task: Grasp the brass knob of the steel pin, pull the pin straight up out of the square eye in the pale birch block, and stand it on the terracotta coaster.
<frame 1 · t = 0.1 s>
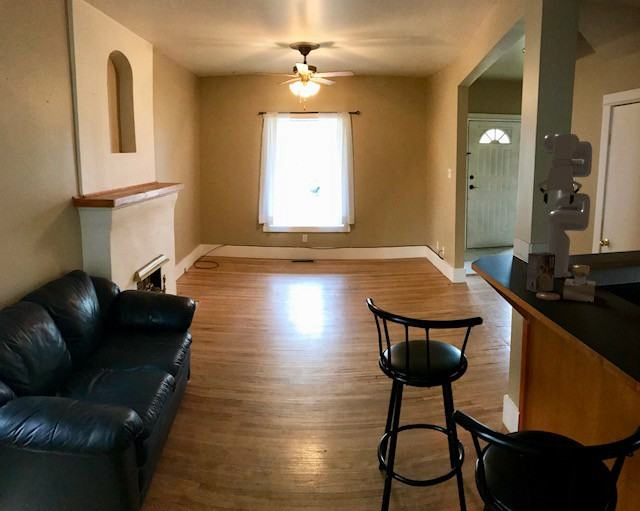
hand: (558, 203, 220), 37 cm above the counter, tool pointing down, fingers open, 9 cm apart
coaster: (548, 297, 210), on the counter
eye block: (578, 297, 210), on the counter
pin: (580, 281, 209), in the eye block
coffee box: (539, 290, 222), on the counter
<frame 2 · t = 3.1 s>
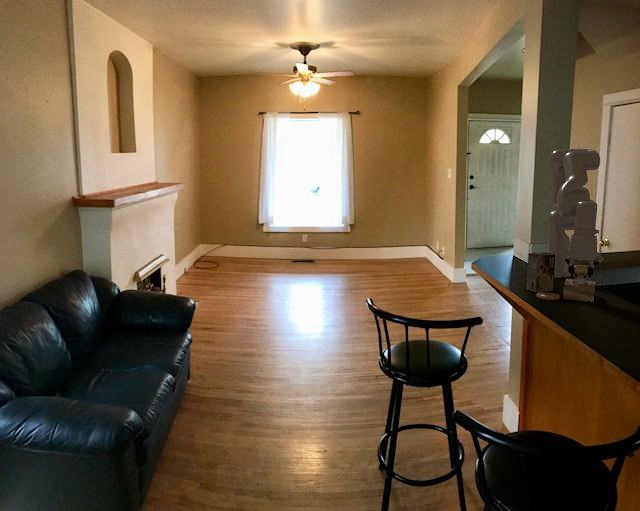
hand: (580, 275, 208), 9 cm above the counter, tool pointing down, fingers closed on pin, 6 cm apart
pin: (580, 281, 209), in the eye block, touching gripper
everything else where it was.
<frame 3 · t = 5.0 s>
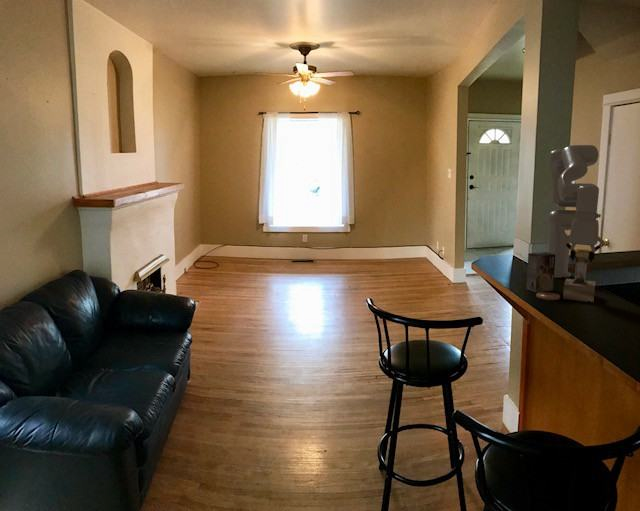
hand: (581, 260, 207), 15 cm above the counter, tool pointing down, fingers closed on pin, 6 cm apart
pin: (581, 266, 208), point 13 cm above the counter, touching gripper
everything else where it was.
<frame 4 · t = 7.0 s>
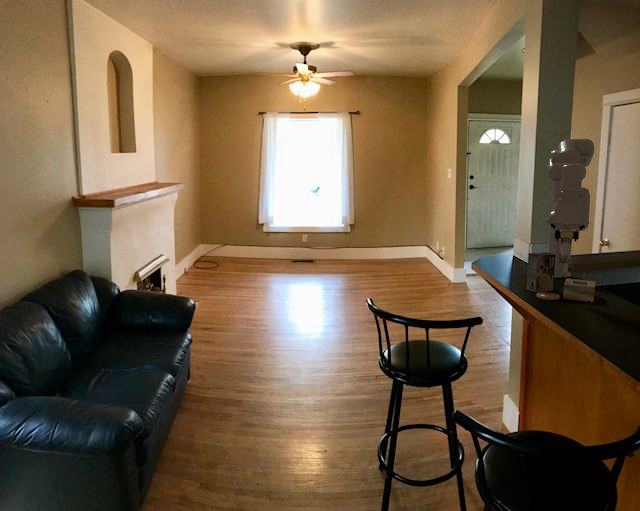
hand: (566, 240, 205), 24 cm above the counter, tool pointing down, fingers closed on pin, 6 cm apart
pin: (565, 246, 206), point 21 cm above the counter, touching gripper
everything else where it was.
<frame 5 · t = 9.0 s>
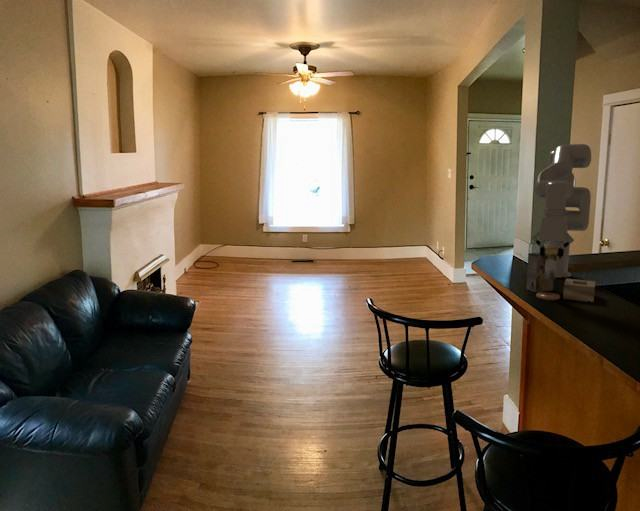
hand: (551, 257, 207), 17 cm above the counter, tool pointing down, fingers closed on pin, 6 cm apart
pin: (550, 263, 207), point 14 cm above the counter, touching gripper
everything else where it was.
when the fingers open (11 cm above the counter, at t = 10.8 s): pin stays where it is, resting on coaster.
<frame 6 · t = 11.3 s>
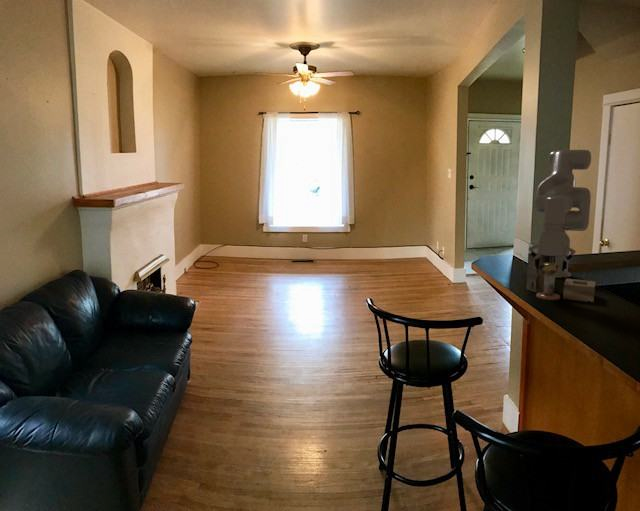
hand: (550, 269, 208), 12 cm above the counter, tool pointing down, fingers open, 9 cm apart
pin: (549, 279, 209), on the coaster, point 8 cm above the counter
everything else where it was.
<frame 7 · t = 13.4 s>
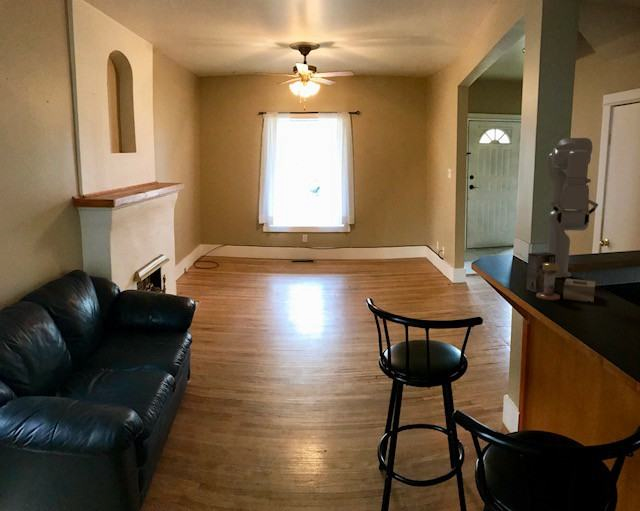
hand: (572, 223, 211), 30 cm above the counter, tool pointing down, fingers open, 9 cm apart
nothing on the counter moved.
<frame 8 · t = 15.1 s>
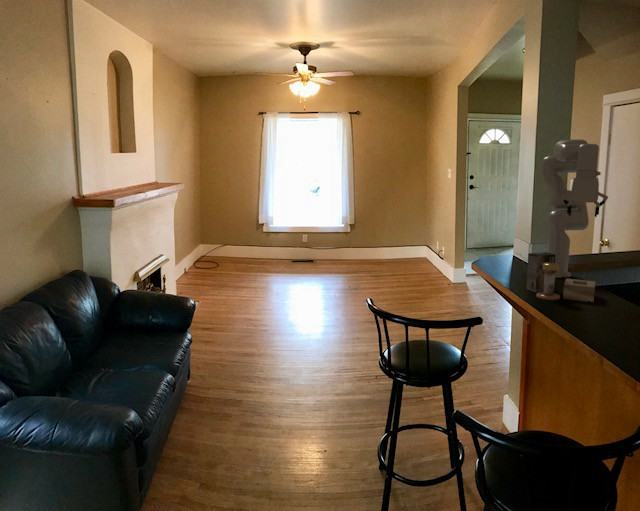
hand: (582, 216, 213), 32 cm above the counter, tool pointing down, fingers open, 9 cm apart
nothing on the counter moved.
at the end: pin inside the target area on the coaster (0.1 cm from its centre), point 7.5 cm above the coaster's base; pin moved 12.5 cm from its start; the gripper is holding nothing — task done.
